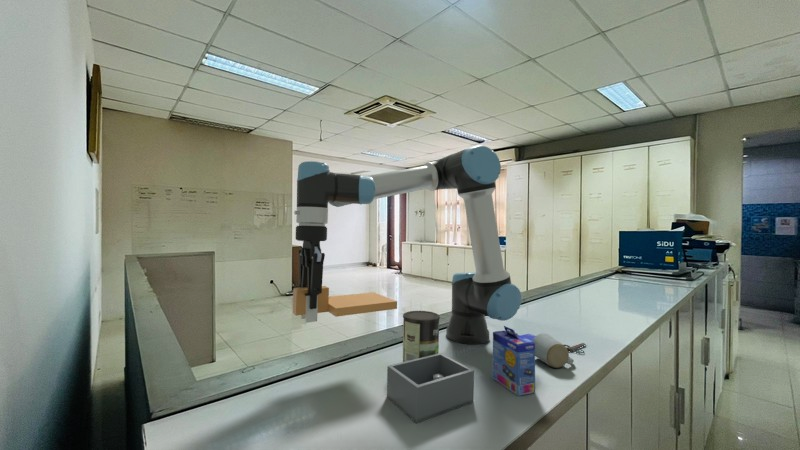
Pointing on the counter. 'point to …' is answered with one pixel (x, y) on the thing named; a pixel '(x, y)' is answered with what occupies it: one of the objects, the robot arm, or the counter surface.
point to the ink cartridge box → (514, 361)
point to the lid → (342, 303)
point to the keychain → (575, 347)
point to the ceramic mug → (551, 351)
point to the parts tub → (429, 386)
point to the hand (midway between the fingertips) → (308, 319)
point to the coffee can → (420, 334)
